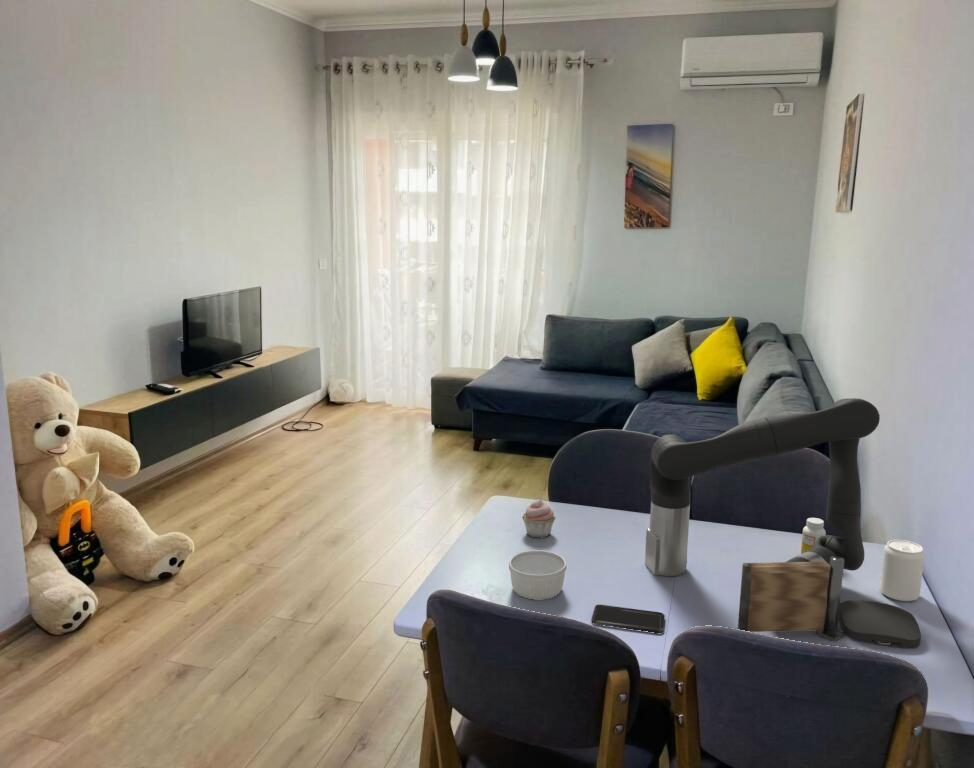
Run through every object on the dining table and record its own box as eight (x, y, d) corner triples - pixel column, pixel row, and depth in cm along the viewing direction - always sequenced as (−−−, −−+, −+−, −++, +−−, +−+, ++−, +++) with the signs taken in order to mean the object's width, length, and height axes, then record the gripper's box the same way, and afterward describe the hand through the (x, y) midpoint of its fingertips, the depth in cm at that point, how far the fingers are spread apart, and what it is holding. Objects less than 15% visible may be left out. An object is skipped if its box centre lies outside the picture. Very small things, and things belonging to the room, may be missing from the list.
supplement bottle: (819, 552, 201) (823, 516, 199) (826, 561, 195) (830, 525, 193) (797, 551, 201) (801, 516, 199) (804, 560, 196) (807, 524, 194)
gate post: (849, 631, 163) (857, 556, 159) (834, 642, 159) (842, 565, 155) (755, 593, 179) (760, 523, 176) (739, 602, 175) (744, 531, 172)
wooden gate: (819, 625, 162) (825, 561, 159) (823, 631, 160) (830, 565, 157) (736, 627, 162) (741, 562, 158) (739, 632, 160) (744, 567, 156)
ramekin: (526, 608, 173) (527, 579, 171) (498, 584, 184) (498, 556, 182) (576, 595, 179) (577, 567, 177) (546, 572, 190) (546, 545, 188)
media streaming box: (835, 607, 173) (836, 595, 173) (908, 617, 169) (910, 604, 169) (844, 641, 160) (845, 628, 159) (924, 653, 156) (925, 639, 155)
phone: (662, 631, 162) (590, 621, 166) (662, 636, 162) (590, 626, 166) (664, 612, 169) (595, 603, 173) (664, 617, 169) (595, 608, 173)
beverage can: (915, 589, 181) (921, 541, 178) (922, 605, 174) (928, 555, 171) (877, 584, 184) (882, 536, 181) (881, 600, 176) (887, 550, 173)
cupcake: (557, 540, 208) (558, 505, 206) (522, 540, 208) (522, 505, 206) (554, 526, 217) (555, 492, 215) (521, 526, 217) (521, 492, 215)
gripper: (776, 547, 176) (733, 570, 165) (834, 567, 166) (791, 592, 155) (774, 578, 177) (730, 602, 166) (830, 599, 167) (788, 627, 157)
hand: (760, 597), depth 161 cm, fingers closed
